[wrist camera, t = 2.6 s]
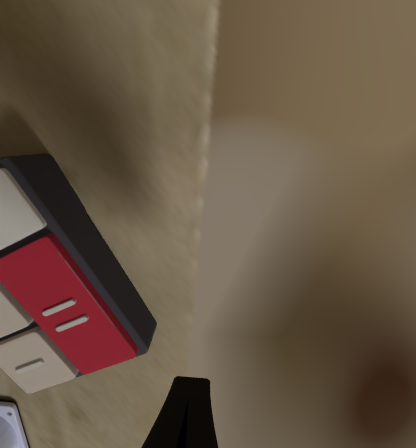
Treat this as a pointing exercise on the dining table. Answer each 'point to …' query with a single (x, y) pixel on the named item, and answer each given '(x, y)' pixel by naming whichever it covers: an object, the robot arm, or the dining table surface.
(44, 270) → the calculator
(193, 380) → the robot arm
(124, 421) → the dining table surface
